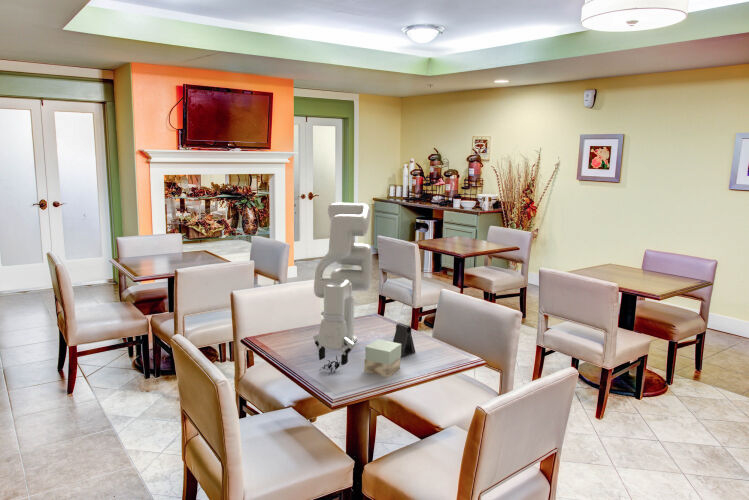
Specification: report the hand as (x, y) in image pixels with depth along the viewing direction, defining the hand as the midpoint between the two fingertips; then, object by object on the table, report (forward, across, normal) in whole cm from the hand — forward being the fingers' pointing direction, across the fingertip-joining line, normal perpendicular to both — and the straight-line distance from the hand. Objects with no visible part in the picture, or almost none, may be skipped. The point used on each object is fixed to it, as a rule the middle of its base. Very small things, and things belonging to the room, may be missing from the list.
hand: (332, 361), depth 201 cm
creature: (+4, -1, 0) cm, 5 cm away
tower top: (-1, +15, +12) cm, 19 cm away
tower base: (+4, +15, +12) cm, 19 cm away
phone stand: (+4, +14, +32) cm, 35 cm away
